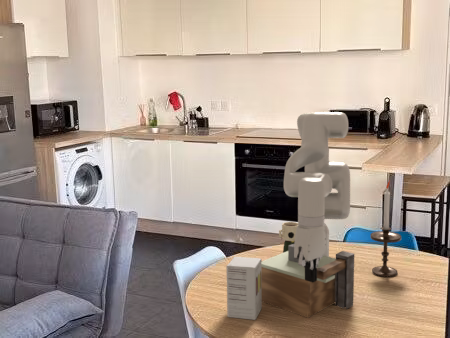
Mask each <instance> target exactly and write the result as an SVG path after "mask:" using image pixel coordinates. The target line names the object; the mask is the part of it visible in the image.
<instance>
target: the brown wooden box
mask: <svg viewBox="0 0 450 338" xmlns="http://www.w3.org/2000/svg"><path fill="white" fill-rule="evenodd" d="M339 258H342V259H346V268H345V269H343V270H341V271H339V272H337V273H335V274H333V275H335V278H334V279H332V280H330V281H328V282H326V283H325V282H321V281H318V280H317V281H315V282H309V281H306V280H304V279H301V278H297V277H294V276H291V275H287V274H284V273H281V272H277V271H274V270H270V269H267V268H264V267H261V279H262V303H265V304H268V305H270V306H273V307H276V308H279V309H282V310H285V311H288V312H290V313H294V314H296V315H299V316H302V317H303V318H304V317H305V318H310V317H312V316H314V315H315V314H317V313H319V312H321V311H323V310H324V309H326V308H329V307H330V306H331V305H333V304H334V307H338V308H342V309H345V310H348V309H349V308H351V307H353V306H354V295H355V293H354V292H355V291H354V290H355V289H354V288H355V253H353V252H348V251H345V250H342V251H339V252H337V253H335V259H336V260H337V259H339Z"/></svg>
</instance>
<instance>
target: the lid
mask: <svg viewBox="0 0 450 338" xmlns="http://www.w3.org/2000/svg"><path fill="white" fill-rule="evenodd" d="M335 260H336V257H330V256H329V257H328V256H324V255H323V257H322V258H321V259H320V260H319V263H318V267H317V268H320V267H322V266H324V265H327V264H329V263H331V262H333V261H335ZM298 262H299V259H295V258H294V244H292V245H289V246H288V251H286V252H284V253H283V252H281V253H279V254H277V255H274V256H271V257H269V258H267V259H264V260H261V267H264V268H267V269H270V270H274V271H277V272H281V273H284V274H287V275H291V276H294V277H297V278H301V279H304V280H305V268H304V266H300V265H298ZM334 278H335V275H331V276H329V277H327V278H326V279H324V280H322V279H318V278H317V280H318V281H321V282H325V283H326V282H328V281H330V280H332V279H334Z"/></svg>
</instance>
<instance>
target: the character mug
mask: <svg viewBox="0 0 450 338" xmlns="http://www.w3.org/2000/svg"><path fill="white" fill-rule="evenodd" d="M297 226H298V222H296V221H284V222H282V223H281V229H279V230H278V237H279V238H282V240H284V243H283V250H282V253H284V252H286V251H288V246H289V245H292V244H295V234H296V229H297Z"/></svg>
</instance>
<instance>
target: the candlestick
mask: <svg viewBox="0 0 450 338" xmlns="http://www.w3.org/2000/svg"><path fill="white" fill-rule="evenodd" d="M390 183H391V180H390V179H389V181H388V182H387V185H386V189H385V192H383V193H384V194H383V195H384V196H383V198H384V199H383V200H384V201H383V226H382V227H380V228H379V229H380V231H379V230H378V231H373V232H371V233H370V239H371V240H373V241H375V242H379V243H383V251H381V256H382V258H381V261H382V266H381V265H379V266H375V267H373V268H372V270H371V273H372V274H373V275H374V276H377V277H381V278H394V277H396V276H397V275H398V270H397V269H396V268H394V267H390V266H388V265H387V264H388V261H389V258H388V257H389V255H390V252H389V251H388V244H389V243H391V244H392V243H398V242H400V241H402V235H401V234H399V233H398V232H394V231H391V230H392V228H391V227H390V202H391V201H390V200H391V198H390V197H391V192H390V191H389V187H390Z"/></svg>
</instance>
